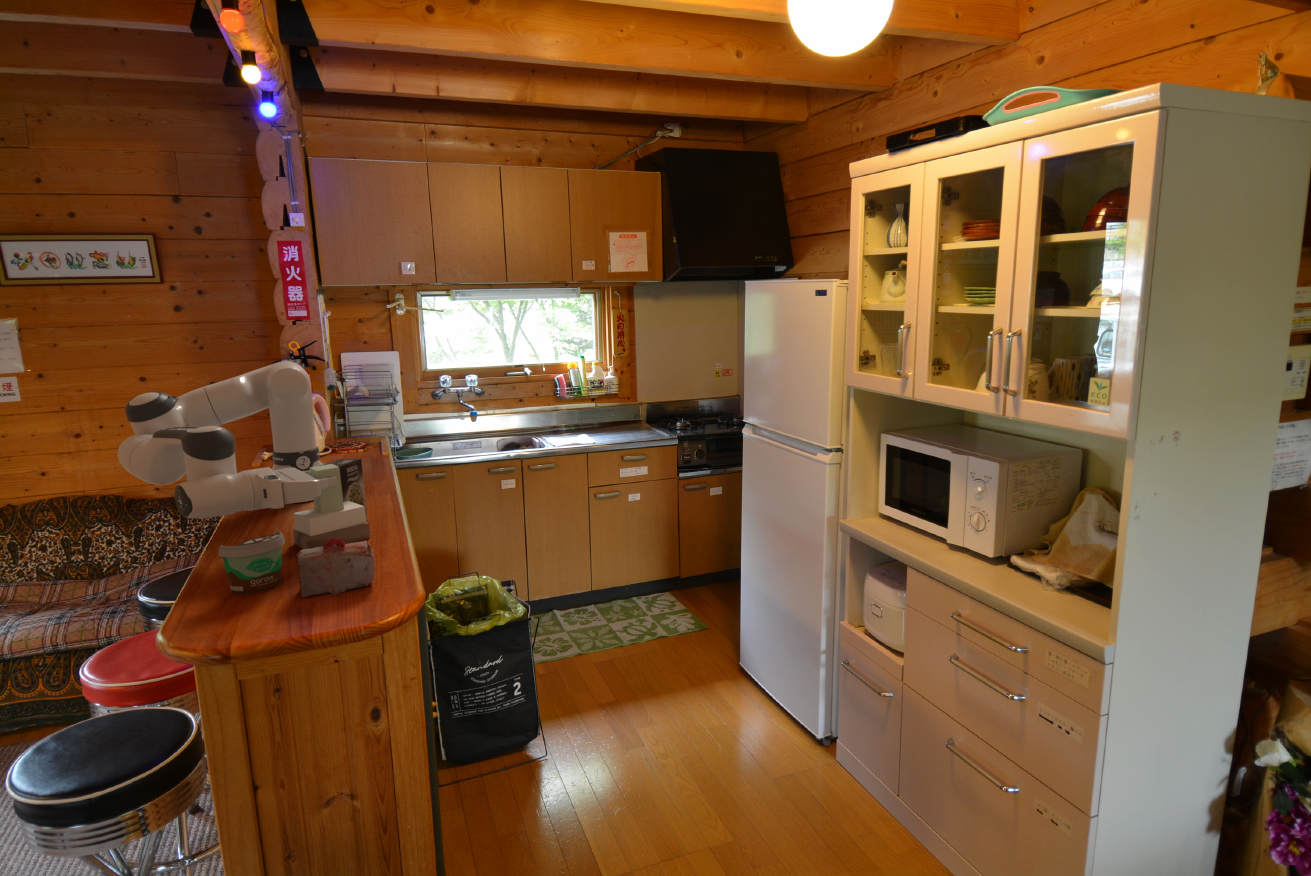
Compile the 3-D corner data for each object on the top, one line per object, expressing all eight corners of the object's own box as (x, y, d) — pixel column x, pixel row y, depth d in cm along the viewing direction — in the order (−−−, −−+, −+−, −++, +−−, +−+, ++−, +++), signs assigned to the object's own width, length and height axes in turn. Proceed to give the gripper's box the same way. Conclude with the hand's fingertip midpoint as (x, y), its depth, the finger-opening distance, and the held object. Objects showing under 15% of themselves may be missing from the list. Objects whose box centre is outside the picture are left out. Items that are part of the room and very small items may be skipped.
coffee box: (347, 530, 183) (340, 465, 180) (323, 529, 184) (316, 465, 181) (368, 519, 191) (362, 458, 189) (346, 518, 193) (339, 457, 190)
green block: (314, 509, 174) (309, 467, 172) (336, 504, 177) (331, 463, 175) (321, 513, 170) (316, 470, 168) (344, 508, 174) (339, 466, 172)
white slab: (295, 529, 172) (293, 513, 171) (349, 516, 182) (348, 500, 181) (310, 536, 167) (308, 519, 166) (366, 522, 176) (364, 506, 176)
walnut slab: (294, 545, 173) (293, 529, 173) (354, 531, 183) (353, 516, 182) (309, 554, 167) (307, 537, 166) (370, 539, 176) (368, 523, 176)
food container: (241, 601, 139) (234, 550, 138) (223, 595, 143) (216, 545, 141) (302, 580, 150) (297, 532, 148) (284, 575, 153) (278, 528, 151)
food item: (373, 575, 152) (368, 528, 150) (378, 588, 145) (373, 539, 143) (299, 588, 146) (293, 539, 144) (300, 602, 139) (294, 551, 137)
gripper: (253, 493, 173) (316, 482, 181) (278, 510, 157) (345, 498, 166) (250, 466, 171) (313, 457, 180) (274, 481, 156) (342, 470, 165)
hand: (328, 477), depth 173 cm, fingers open, 8 cm apart
